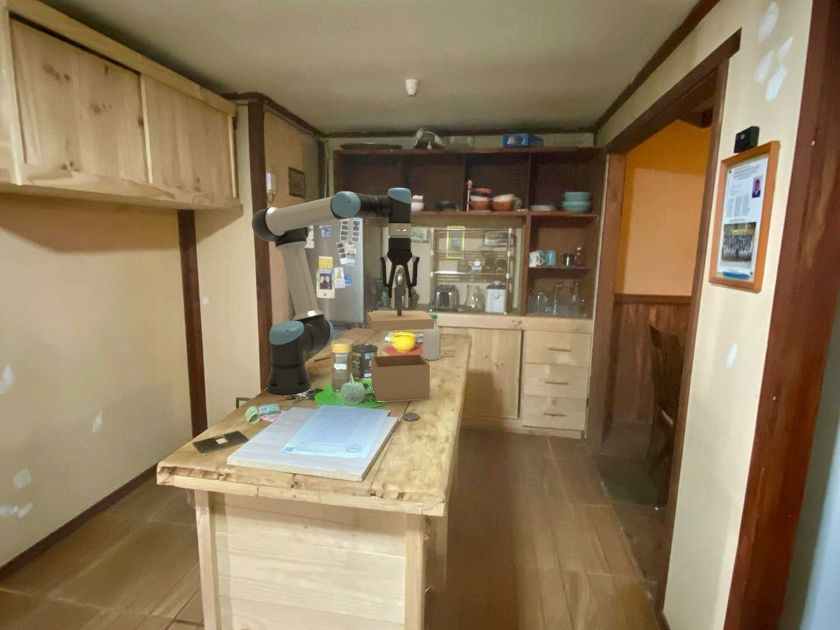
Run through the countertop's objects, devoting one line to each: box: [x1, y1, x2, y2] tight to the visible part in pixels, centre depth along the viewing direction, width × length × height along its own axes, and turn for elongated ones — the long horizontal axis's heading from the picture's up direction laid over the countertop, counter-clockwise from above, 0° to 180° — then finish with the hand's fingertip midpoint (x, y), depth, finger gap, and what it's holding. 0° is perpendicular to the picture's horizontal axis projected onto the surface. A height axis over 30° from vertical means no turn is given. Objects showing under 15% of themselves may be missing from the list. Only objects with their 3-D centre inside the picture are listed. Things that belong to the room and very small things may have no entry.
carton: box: [370, 353, 431, 403], centre depth 154 cm, size 18×14×12 cm
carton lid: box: [367, 285, 434, 332], centre depth 150 cm, size 20×16×14 cm
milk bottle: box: [422, 313, 441, 361], centre depth 198 cm, size 8×8×20 cm
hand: (399, 307), depth 150 cm, fingers closed on carton lid, 4 cm apart
